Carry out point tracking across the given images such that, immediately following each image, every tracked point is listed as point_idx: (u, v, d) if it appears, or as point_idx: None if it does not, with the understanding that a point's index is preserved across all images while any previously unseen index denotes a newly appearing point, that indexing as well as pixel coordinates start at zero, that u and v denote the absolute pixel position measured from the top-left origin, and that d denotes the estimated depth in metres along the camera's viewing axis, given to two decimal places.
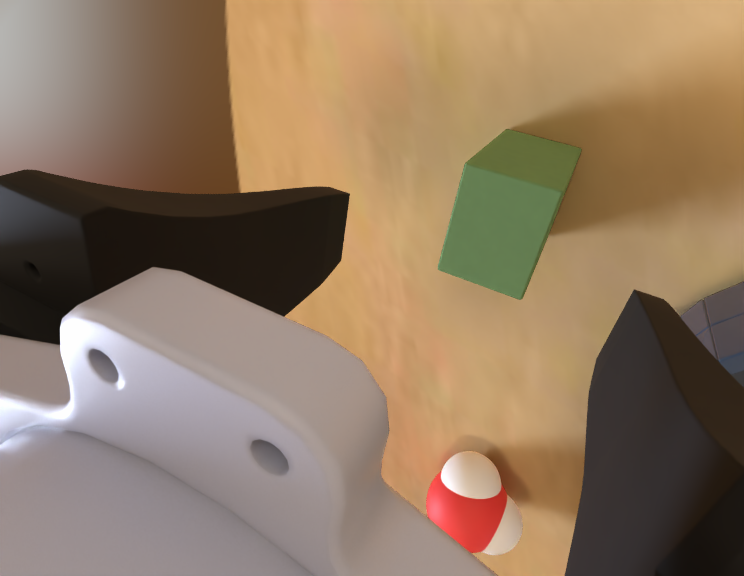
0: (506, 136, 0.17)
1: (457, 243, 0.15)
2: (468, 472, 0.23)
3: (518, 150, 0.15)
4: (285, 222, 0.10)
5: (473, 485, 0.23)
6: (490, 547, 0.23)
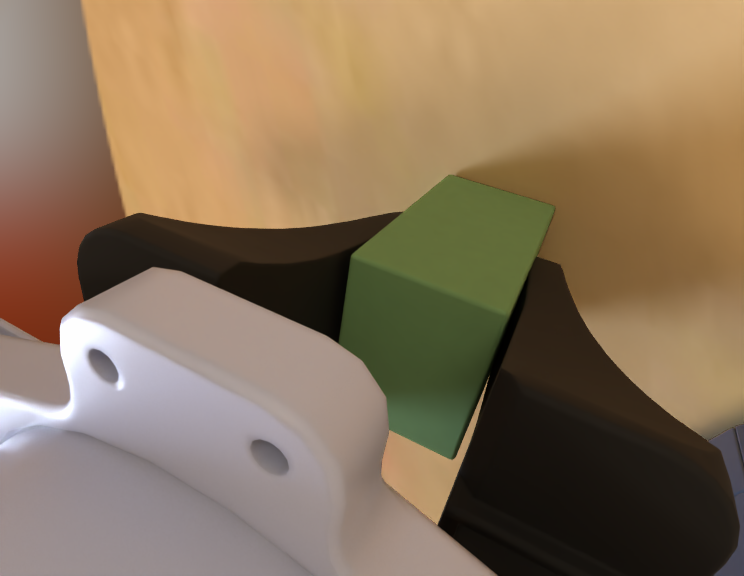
0: (444, 189, 0.11)
1: None
2: None
3: (454, 218, 0.10)
4: None
5: None
6: None
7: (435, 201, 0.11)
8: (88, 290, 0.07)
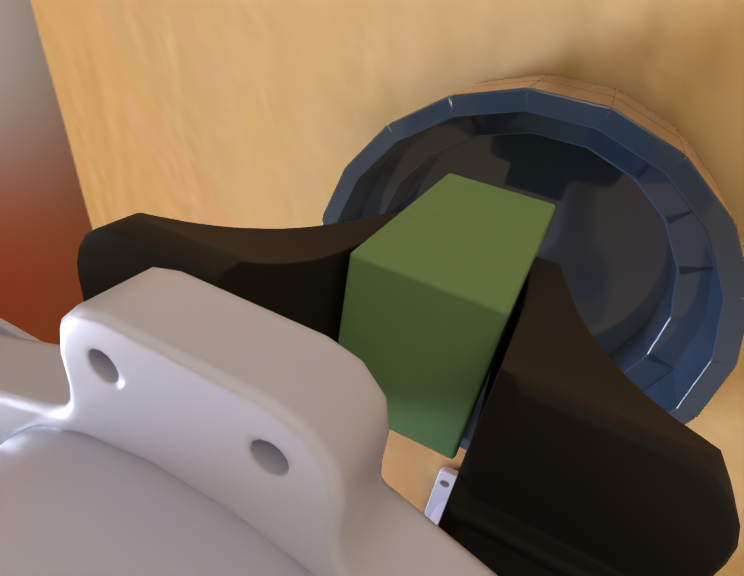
0: (443, 188, 0.11)
1: None
2: None
3: (454, 216, 0.10)
4: None
5: None
6: None
7: (435, 200, 0.11)
8: (88, 290, 0.07)
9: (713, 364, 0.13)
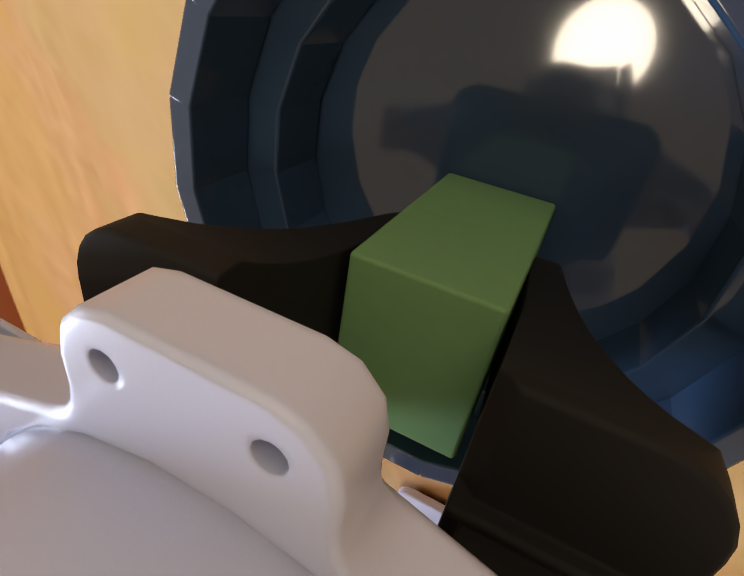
0: (444, 188, 0.11)
1: None
2: None
3: (454, 216, 0.10)
4: None
5: None
6: None
7: (435, 199, 0.11)
8: (88, 290, 0.07)
9: None
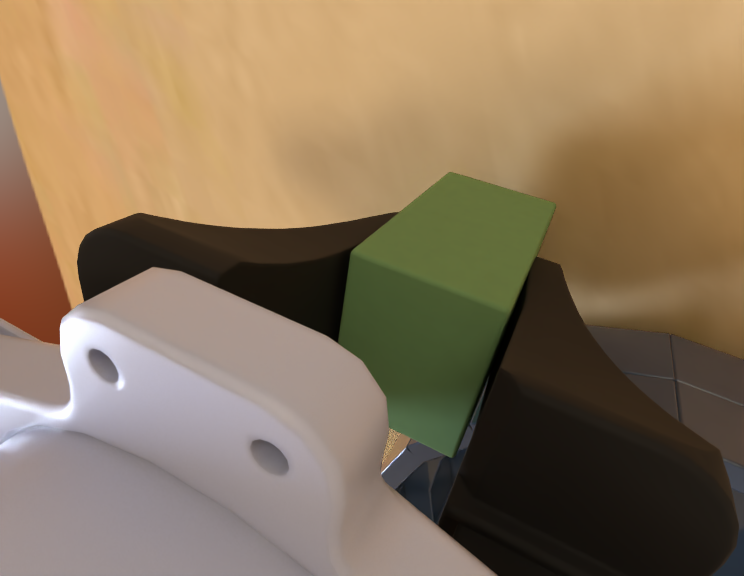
0: (444, 186, 0.11)
1: None
2: None
3: (454, 215, 0.10)
4: None
5: None
6: None
7: (435, 198, 0.11)
8: (88, 290, 0.07)
9: None
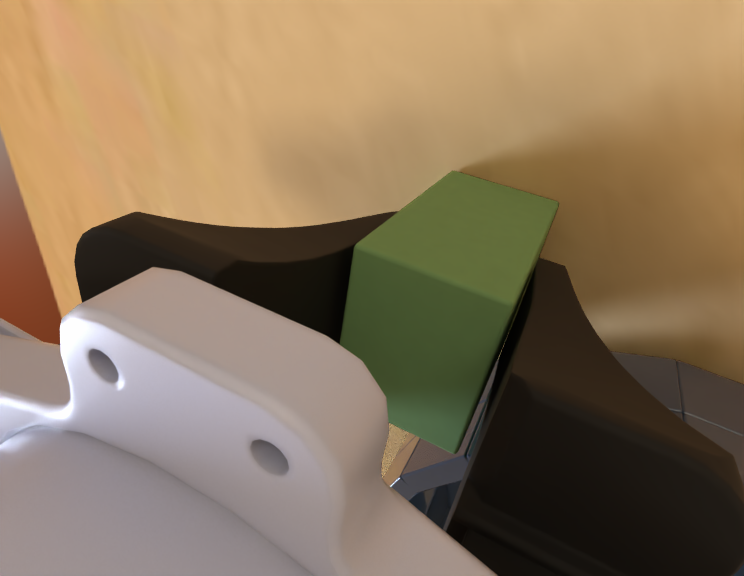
0: (447, 184, 0.11)
1: None
2: None
3: (457, 211, 0.10)
4: None
5: None
6: None
7: (438, 195, 0.11)
8: (85, 289, 0.07)
9: None
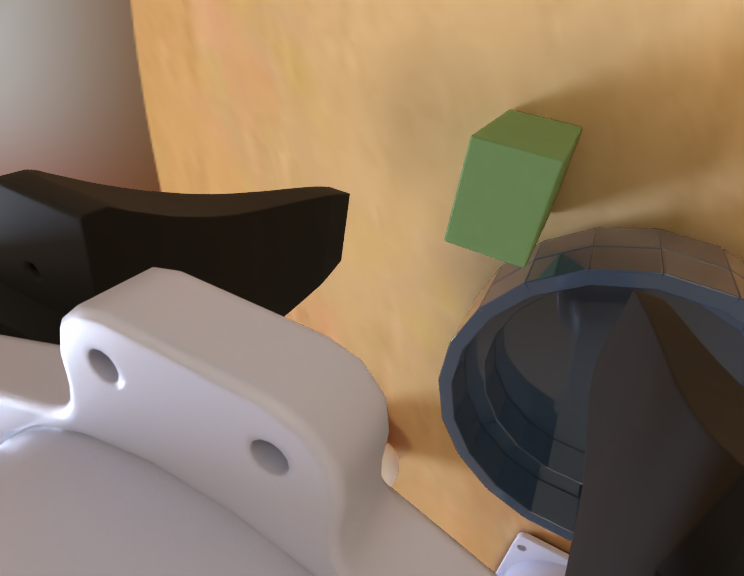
0: (509, 115, 0.17)
1: (464, 214, 0.15)
2: None
3: (521, 127, 0.16)
4: (285, 222, 0.10)
5: None
6: None
7: (507, 119, 0.17)
8: None
9: None
